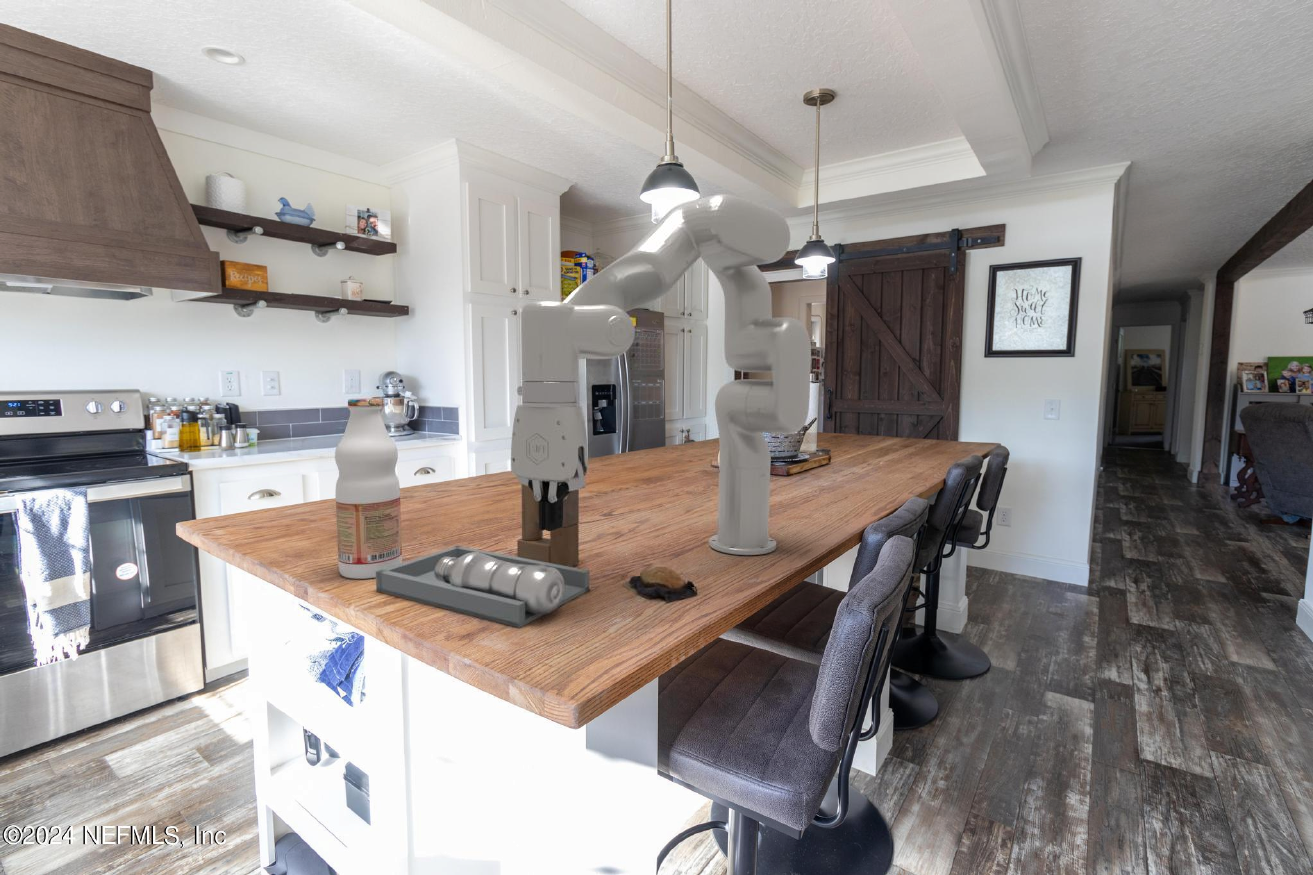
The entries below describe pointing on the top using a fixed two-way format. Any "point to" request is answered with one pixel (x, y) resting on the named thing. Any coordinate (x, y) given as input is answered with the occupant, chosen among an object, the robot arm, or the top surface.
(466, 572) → the plastic bottle
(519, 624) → the tray
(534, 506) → the toy block structure
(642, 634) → the top surface
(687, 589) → the bread roll
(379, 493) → the fruit juice
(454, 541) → the top surface
